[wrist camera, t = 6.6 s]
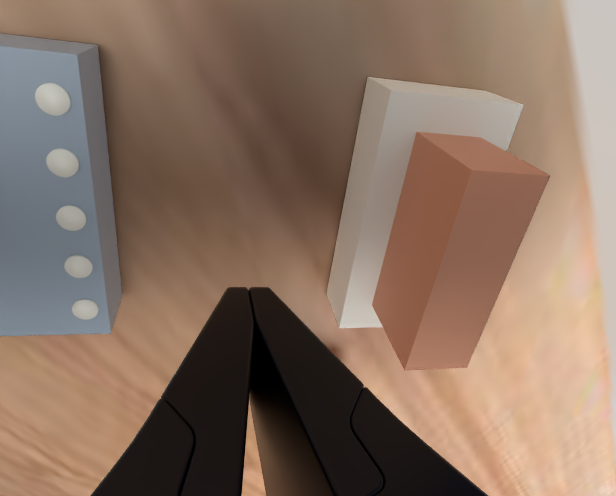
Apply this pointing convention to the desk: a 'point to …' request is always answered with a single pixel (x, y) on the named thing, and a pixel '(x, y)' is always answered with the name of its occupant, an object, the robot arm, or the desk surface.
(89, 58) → the light blue flat piece
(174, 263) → the desk surface
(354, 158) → the stub
